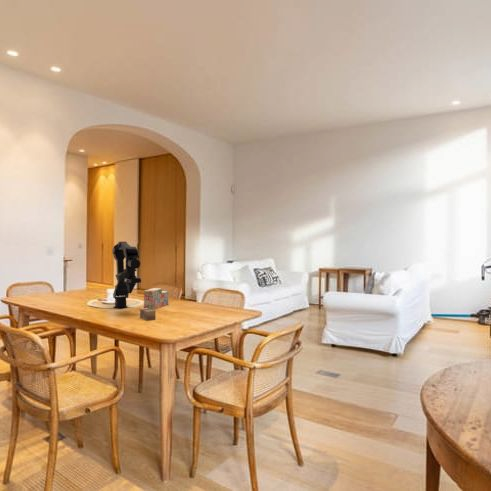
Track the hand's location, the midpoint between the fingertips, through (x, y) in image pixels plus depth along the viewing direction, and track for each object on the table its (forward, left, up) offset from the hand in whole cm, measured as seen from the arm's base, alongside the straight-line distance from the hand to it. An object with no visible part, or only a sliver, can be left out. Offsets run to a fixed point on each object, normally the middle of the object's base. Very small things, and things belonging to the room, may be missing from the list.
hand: (130, 293), depth 235 cm
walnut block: (+14, -5, -10) cm, 18 cm away
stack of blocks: (+2, +25, -12) cm, 28 cm away
